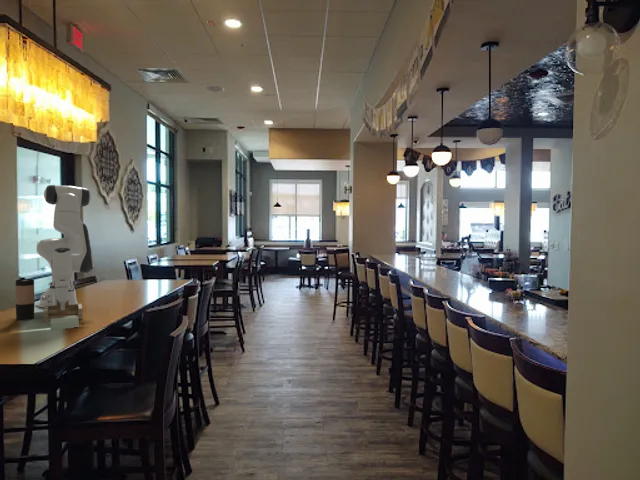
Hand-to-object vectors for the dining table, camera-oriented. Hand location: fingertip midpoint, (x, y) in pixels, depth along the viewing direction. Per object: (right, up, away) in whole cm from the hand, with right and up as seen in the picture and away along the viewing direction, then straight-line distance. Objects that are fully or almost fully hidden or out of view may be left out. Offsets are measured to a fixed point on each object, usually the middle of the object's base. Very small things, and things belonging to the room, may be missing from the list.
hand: (62, 308), depth 217 cm
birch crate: (0, -5, +1) cm, 5 cm away
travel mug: (-16, -6, -4) cm, 17 cm away
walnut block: (0, -3, 0) cm, 3 cm away
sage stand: (+9, -6, -14) cm, 18 cm away
